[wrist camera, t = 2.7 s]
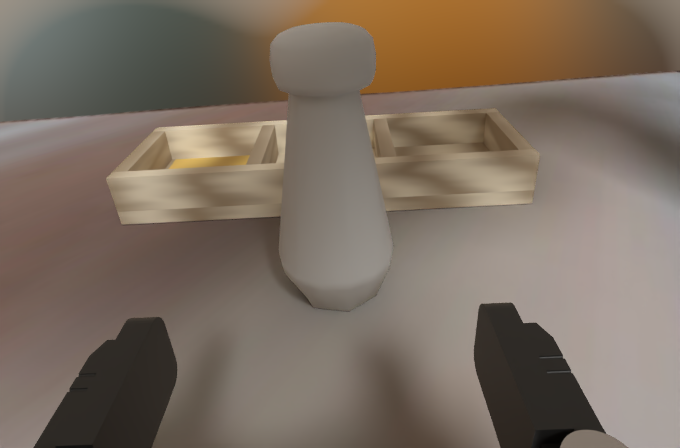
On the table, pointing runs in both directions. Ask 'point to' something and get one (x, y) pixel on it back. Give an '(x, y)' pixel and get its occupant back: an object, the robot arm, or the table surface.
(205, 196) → the tray
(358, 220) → the salt shaker
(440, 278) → the table surface
